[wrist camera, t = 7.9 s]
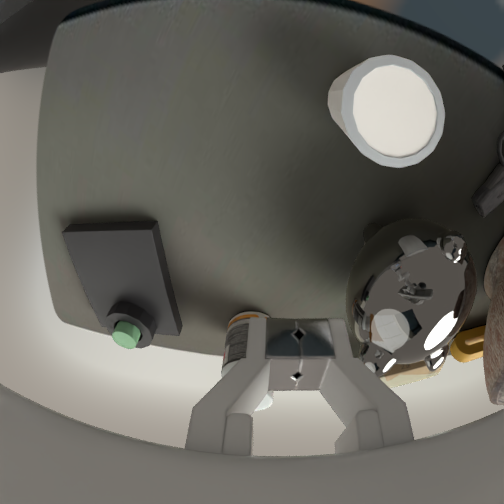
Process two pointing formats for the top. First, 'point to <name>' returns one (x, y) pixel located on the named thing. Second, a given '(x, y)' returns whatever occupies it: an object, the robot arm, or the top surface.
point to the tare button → (126, 334)
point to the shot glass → (388, 110)
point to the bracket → (468, 344)
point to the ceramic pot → (495, 326)
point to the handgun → (491, 186)
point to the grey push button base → (125, 276)
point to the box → (407, 374)
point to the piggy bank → (409, 293)
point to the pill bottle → (241, 347)
